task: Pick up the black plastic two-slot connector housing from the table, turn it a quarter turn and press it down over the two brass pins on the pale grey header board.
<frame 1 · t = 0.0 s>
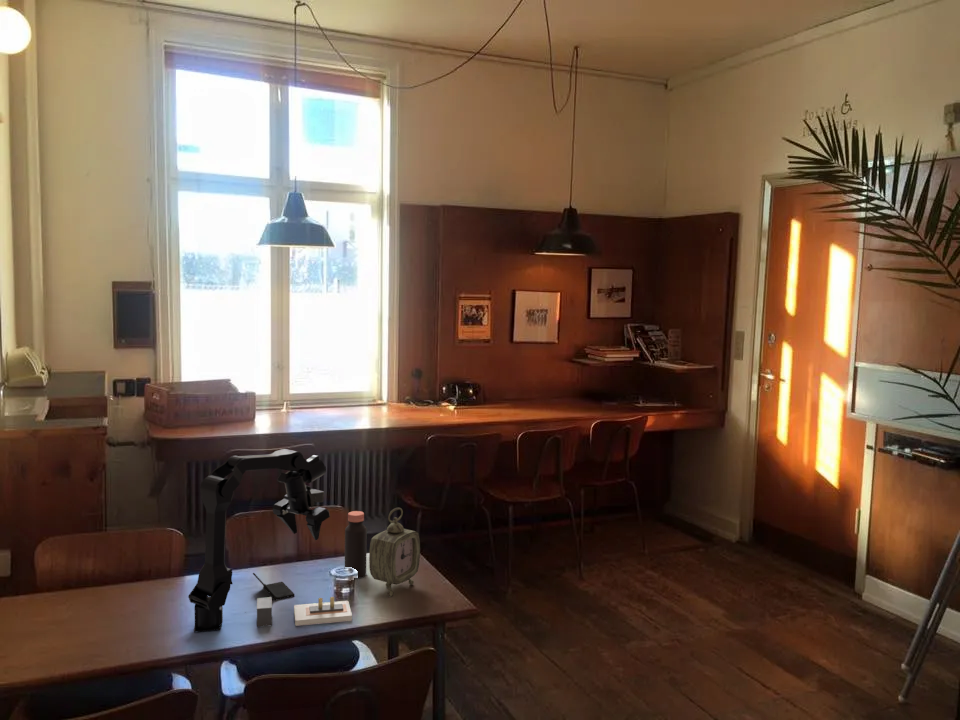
hand: (305, 536, 232), 15 cm above the table, tool pointing down, fingers open, 9 cm apart
tabletop clock: (393, 589, 233), on the table
bottle: (355, 575, 243), on the table
connector housing: (264, 620, 209), on the table
header board: (322, 615, 213), on the table
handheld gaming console: (273, 594, 228), on the table
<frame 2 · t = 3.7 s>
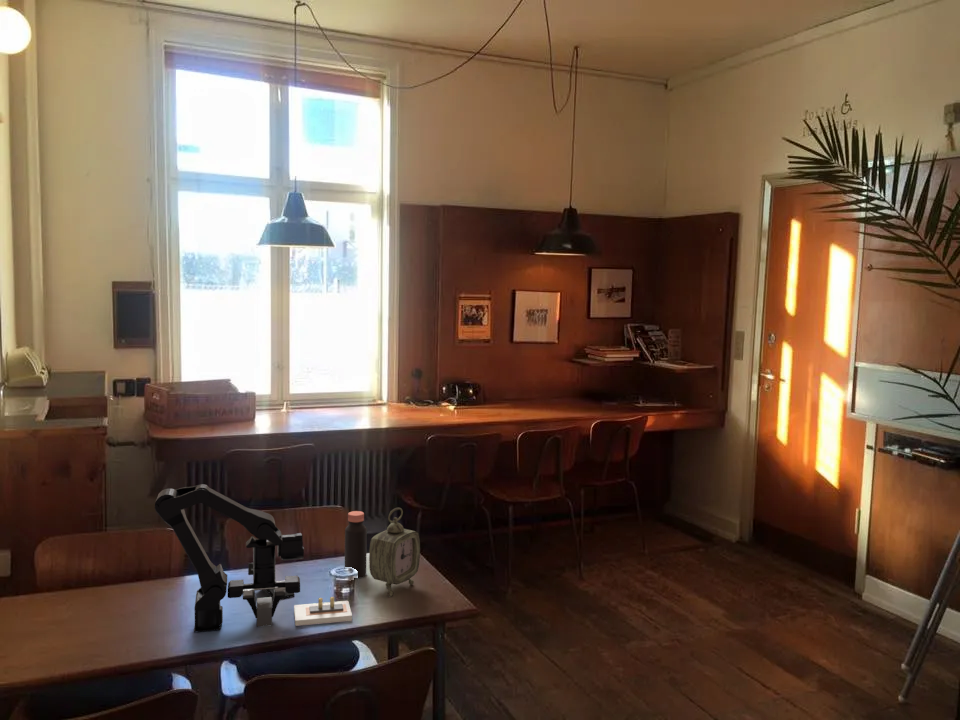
hand: (264, 616, 209), 1 cm above the table, tool pointing down, fingers closed on connector housing, 4 cm apart
connector housing: (264, 620, 209), on the table, touching gripper
everything else where it was.
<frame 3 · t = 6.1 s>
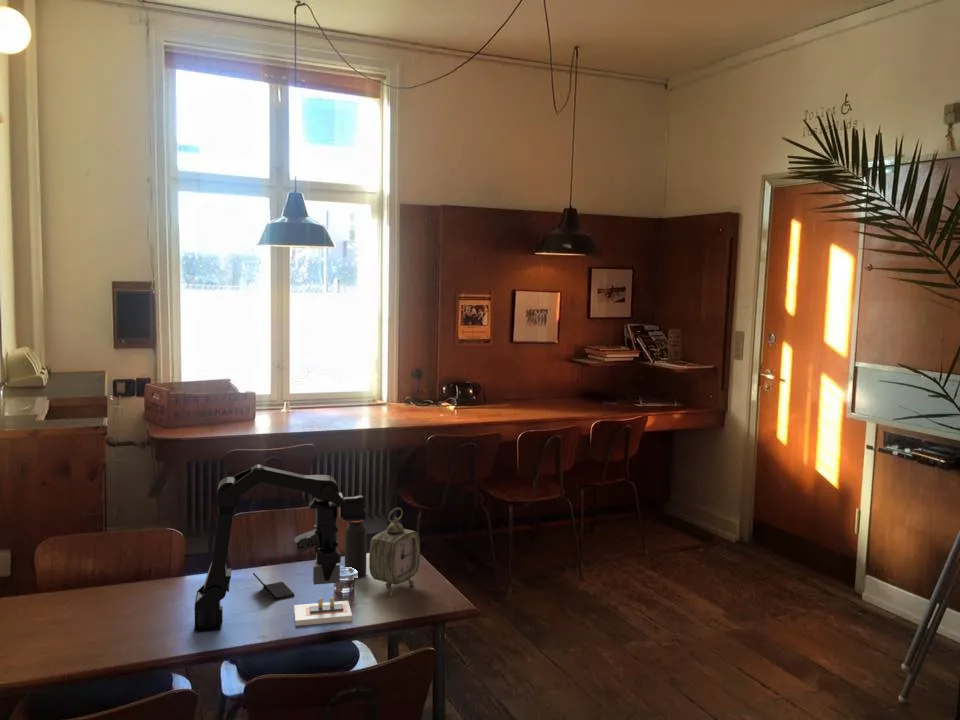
hand: (326, 577, 213), 11 cm above the table, tool pointing down, fingers closed on connector housing, 4 cm apart
connector housing: (326, 580, 213), point 10 cm above the table, touching gripper
everything else where it was.
when the fingers open (3 cm above the table, at t = 8.9 s): connector housing stays where it is, resting on header board.
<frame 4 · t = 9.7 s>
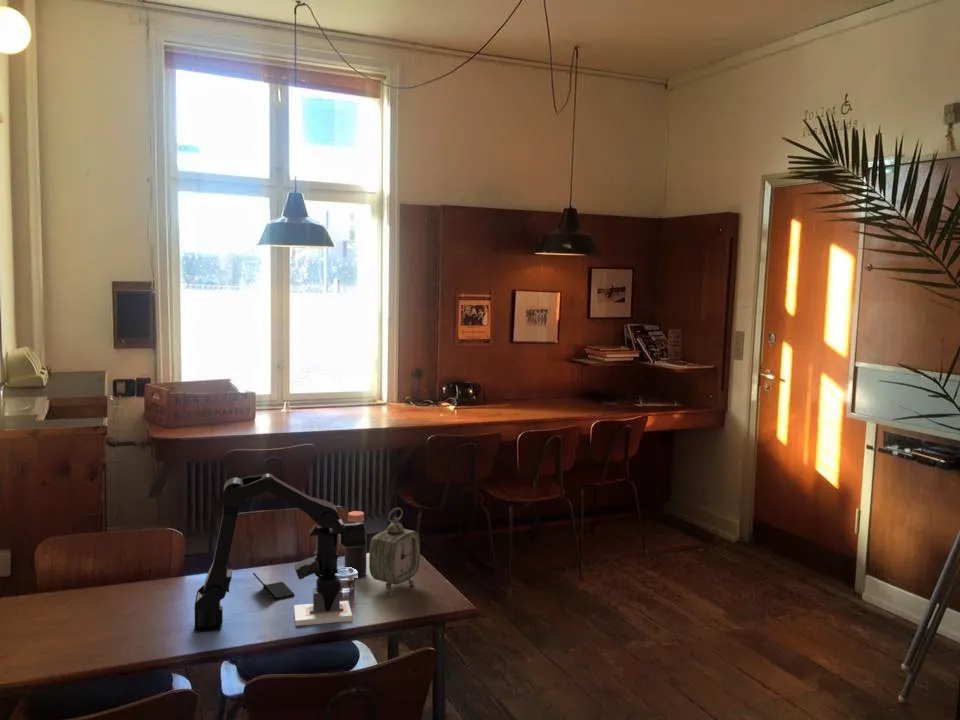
hand: (326, 603, 213), 3 cm above the table, tool pointing down, fingers open, 9 cm apart
connector housing: (326, 607, 213), point 2 cm above the table, touching header board
everything else where it was.
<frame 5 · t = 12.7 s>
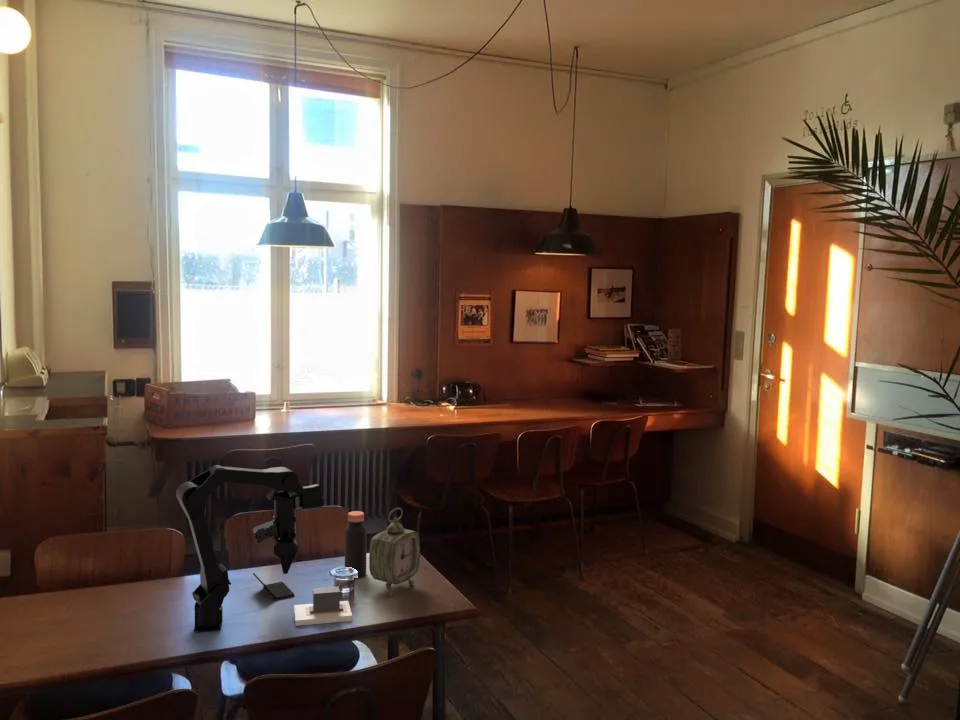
hand: (284, 567, 216), 12 cm above the table, tool pointing down, fingers open, 9 cm apart
nothing on the table moved.
at the end: connector housing 0.0 cm from the target spot on the header board, point 2.2 cm above the header board's base; connector housing tilted 0°; the gripper is holding nothing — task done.
